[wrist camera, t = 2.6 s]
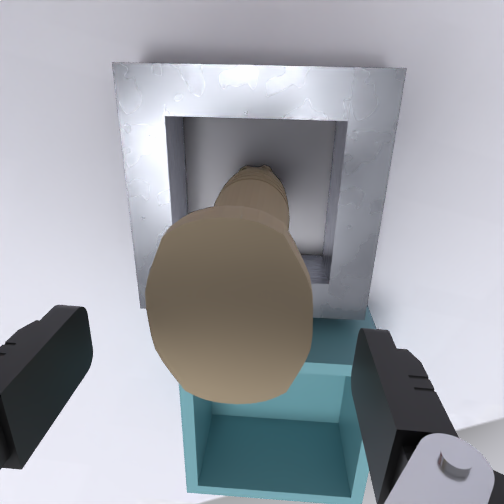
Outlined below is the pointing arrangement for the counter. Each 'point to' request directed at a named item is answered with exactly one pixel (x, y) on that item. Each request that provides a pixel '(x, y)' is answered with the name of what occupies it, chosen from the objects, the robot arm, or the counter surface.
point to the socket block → (265, 107)
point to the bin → (285, 432)
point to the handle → (232, 295)
